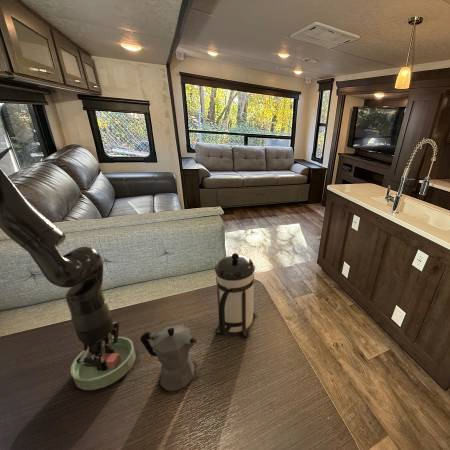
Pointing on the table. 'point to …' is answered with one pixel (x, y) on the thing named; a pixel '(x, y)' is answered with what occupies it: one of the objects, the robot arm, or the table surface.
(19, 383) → the table surface
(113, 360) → the eraser
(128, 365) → the bowl
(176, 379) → the coffeepot
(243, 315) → the coffee press
